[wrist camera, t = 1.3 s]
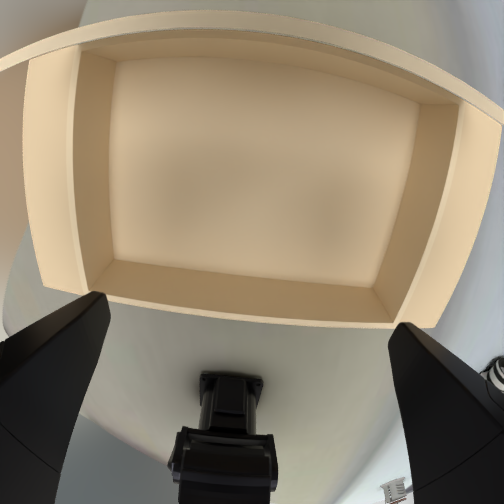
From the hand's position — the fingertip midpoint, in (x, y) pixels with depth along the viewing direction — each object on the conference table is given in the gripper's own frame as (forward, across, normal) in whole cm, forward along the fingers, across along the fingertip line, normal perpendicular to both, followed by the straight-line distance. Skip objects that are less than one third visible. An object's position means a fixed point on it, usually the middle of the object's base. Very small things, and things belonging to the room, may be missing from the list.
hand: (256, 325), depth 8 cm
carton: (+12, 0, -2) cm, 12 cm away
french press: (+11, -62, +90) cm, 110 cm away
